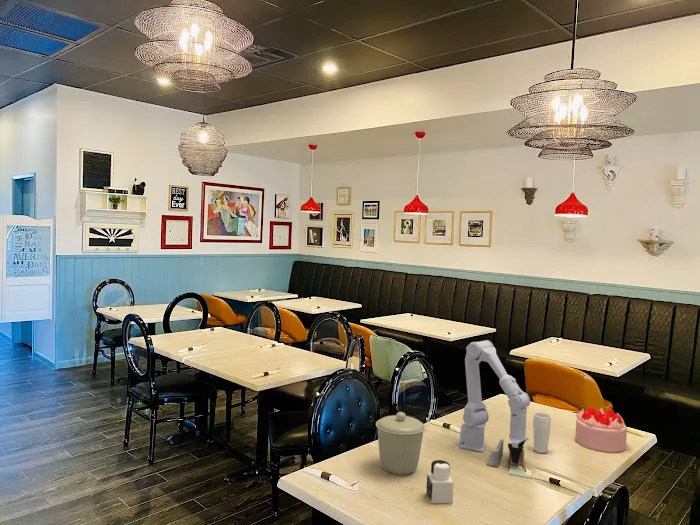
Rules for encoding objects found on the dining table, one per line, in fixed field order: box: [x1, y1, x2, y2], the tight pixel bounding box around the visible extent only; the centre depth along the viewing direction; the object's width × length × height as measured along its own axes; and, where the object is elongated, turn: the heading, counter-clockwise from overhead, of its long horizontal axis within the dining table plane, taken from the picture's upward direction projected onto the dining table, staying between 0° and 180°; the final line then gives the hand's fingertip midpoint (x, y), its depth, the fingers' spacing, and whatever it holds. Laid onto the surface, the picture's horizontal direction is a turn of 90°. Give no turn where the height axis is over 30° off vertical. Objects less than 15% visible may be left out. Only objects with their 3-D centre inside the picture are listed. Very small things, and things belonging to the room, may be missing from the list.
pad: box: [507, 465, 533, 480], centre depth 196 cm, size 8×8×1 cm
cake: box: [574, 406, 628, 454], centre depth 228 cm, size 20×20×14 cm
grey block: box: [486, 438, 505, 469], centre depth 207 cm, size 4×14×6 cm, turn 156°
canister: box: [375, 411, 426, 476], centre depth 195 cm, size 18×18×21 cm
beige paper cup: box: [532, 412, 552, 454], centre depth 217 cm, size 7×7×15 cm
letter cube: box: [508, 449, 525, 466], centre depth 203 cm, size 5×5×5 cm
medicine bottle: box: [426, 459, 454, 504], centre depth 174 cm, size 7×7×12 cm
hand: (516, 459), depth 204 cm, fingers open, 6 cm apart
